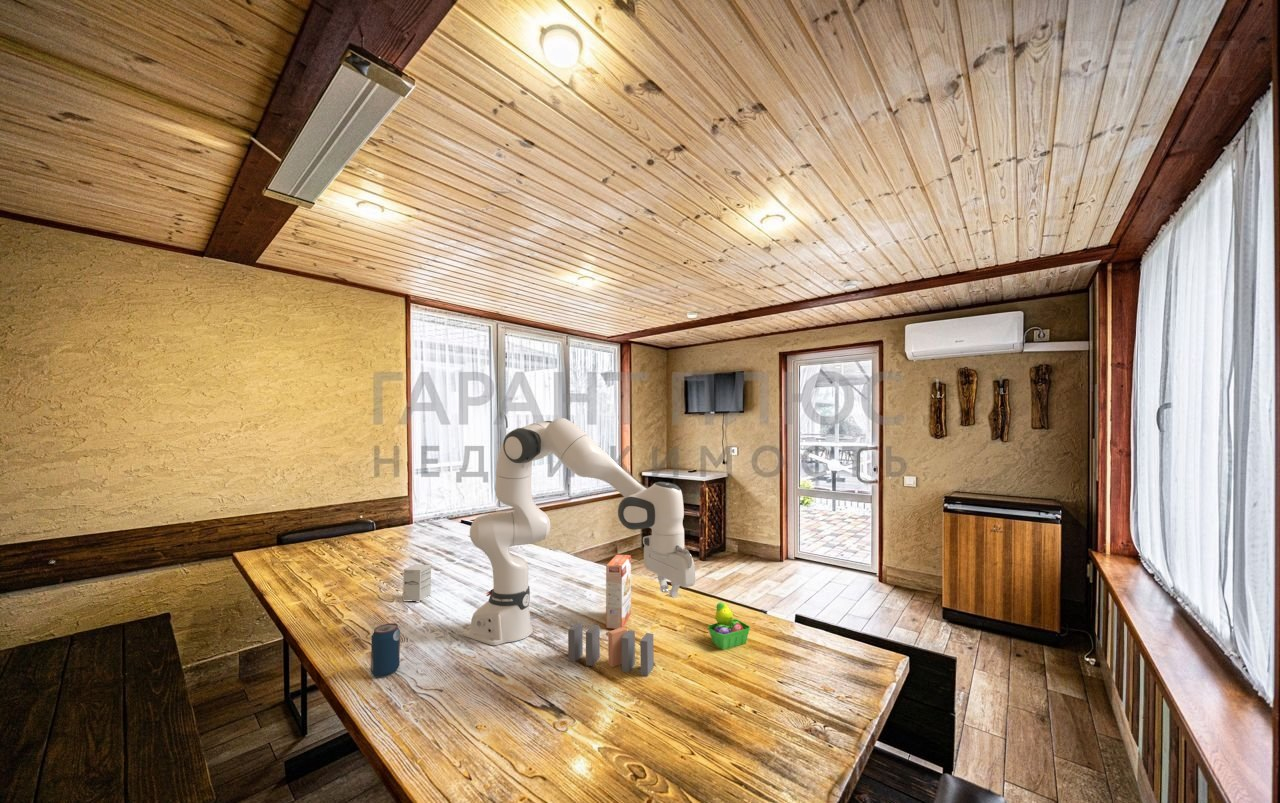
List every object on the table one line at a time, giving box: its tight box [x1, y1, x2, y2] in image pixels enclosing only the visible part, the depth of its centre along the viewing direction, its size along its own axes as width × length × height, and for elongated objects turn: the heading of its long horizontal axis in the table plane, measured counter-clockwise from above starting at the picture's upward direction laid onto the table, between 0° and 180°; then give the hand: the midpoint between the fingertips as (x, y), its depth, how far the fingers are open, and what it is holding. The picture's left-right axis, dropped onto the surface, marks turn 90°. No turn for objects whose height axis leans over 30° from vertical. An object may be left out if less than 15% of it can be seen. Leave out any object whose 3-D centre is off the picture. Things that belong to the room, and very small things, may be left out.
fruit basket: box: [707, 602, 751, 651], centre depth 143 cm, size 11×9×11 cm
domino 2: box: [585, 624, 601, 667], centre depth 133 cm, size 2×5×9 cm, turn 161°
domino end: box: [639, 632, 655, 677], centre depth 127 cm, size 2×5×9 cm, turn 160°
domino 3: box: [607, 626, 628, 668], centre depth 132 cm, size 2×5×9 cm, turn 127°
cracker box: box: [605, 554, 632, 630], centre depth 161 cm, size 14×6×21 cm, turn 168°
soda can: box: [370, 622, 401, 679], centre depth 128 cm, size 7×7×12 cm
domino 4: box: [621, 629, 636, 674], centre depth 129 cm, size 2×5×9 cm, turn 160°
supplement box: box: [402, 563, 432, 601], centre depth 183 cm, size 7×7×13 cm
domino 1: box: [567, 621, 584, 664], centre depth 135 cm, size 2×5×9 cm, turn 160°
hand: (669, 594), depth 126 cm, fingers open, 3 cm apart
